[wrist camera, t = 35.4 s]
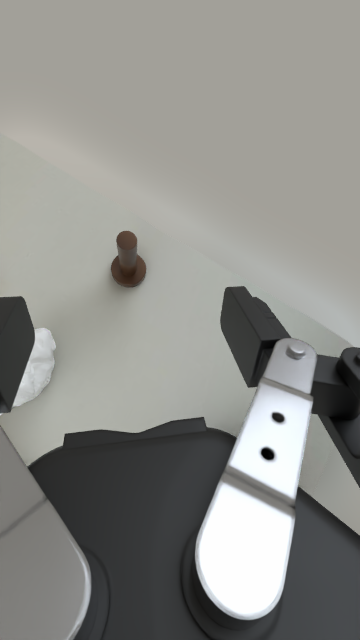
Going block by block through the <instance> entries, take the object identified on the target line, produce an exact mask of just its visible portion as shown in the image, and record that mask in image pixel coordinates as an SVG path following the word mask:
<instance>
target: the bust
mask: <svg viewBox="0 0 360 640" xmlns="http://www.w3.org/2000/svg"><path fill="white" fill-rule="evenodd" d="M34 331H35V343H34V346H33V349H32V352H31V355H30V358H29V361H28V363H27V366H26V369H25V372H24V375H23V378H22V380H21V383H20V386H19V389H18V392H17V395H16V397H15V400H14V403H13V406H12V408H13V407H14V406H20V405H22V404H23V403H25V402H28V401H31V400H33V399H34V398H36V397H37V396H38V395H39V394H40V393H41V392H42V390H43V388H44V387H45V386H46V385H47V384H48V383H49V382H50V379H51V372H52V370H53V369H54V365H55V360H54V354H53V352H54V350H55V348H56V344H55V341H54V340H53V338H52V334H51V332H50V331H49V330H47V329H46V328H38V329H35V330H34ZM0 415H2V413H0Z"/></svg>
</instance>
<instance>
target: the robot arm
mask: <svg viewBox="0 0 360 640" xmlns="http://www.w3.org/2000/svg"><path fill="white" fill-rule="evenodd" d="M220 323H221V329H222V332H223V334H224V336H225V339H226V341H227V343H228V345H229V347H230V349H231V352H232V354H233V356H234V358H235V360H236V363H237V365H238V367H239V369H240V371H241V373H242V376H243V378H244V380H245V382H246V384H247V387H248V388H250V387H257V389H256V392H255V395H254V397H253V400H252V402H251V405H250V407H249V410H248V412H247V415H246V417H245V420H244V422H243V425H242V427H241V430H240V432H239V435H238V437H237V438H236V437H235V436H233V435H231V434H229V433H227V432H224V431H221V430H218V429H214V428H208V427H206V424H205V420H204V417H200V418H191V419H183V420H175V421H170V422H167V423H165V424H162V425H159V426H156V427H154V428H151V429H148V430H146V431H143V432H140V433H128V432H119V431H110V430H93V431H85V432H76V433H68V434H65V437H64V443H63V446H61V447H58V448H56V449H54V450H52V451H50V452H48V453H46V454H44V455H43V456H41V457H40V458H38V459H37V460H36V461H34V462H33V463H31V464H30V465H29V466H28V467H27V466H26V465H25V463H24V462H23V460H22V458H21V457H20V455H19V454H18V452H17V451H16V449H15V447H14V446H13V444H12V443H11V441H10V440H9V438H8V437H7V435H6V433H5V432H4V430H3V429H2V427H1V426H0V640H360V535H358V534H357V533H356V532H354V531H353V530H352V529H351V528H350V527H348V526H347V525H346V524H345V523H343V522H342V521H341V520H339V519H338V518H337V517H336V516H335V515H333V514H332V513H331V512H330V511H328V510H327V509H326V508H325V507H323V506H322V505H321V504H319V503H318V502H317V501H316V500H315V499H313V498H312V497H311V496H310V495H308V494H307V493H306V492H305V491H303V490H302V489H301V488H300V487H298V482H299V477H300V471H301V466H302V460H303V454H304V449H305V443H306V438H307V432H308V427H309V421H310V415H311V413H312V414H318V416H319V418H320V419H321V421H322V423H323V425H324V426H325V428H326V430H327V432H328V433H329V435H330V437H331V439H332V440H333V442H334V444H335V446H336V447H337V449H338V451H339V452H340V454H341V456H342V458H343V460H344V461H345V463H346V465H347V467H348V468H349V470H350V471H351V474H352V475H353V477H354V479H355V480H356V482H357V484H358V486H359V488H360V348H356V347H351V348H346V349H344V350H343V352H342V354H341V356H340V358H337V357H330V356H323V355H318V354H317V353H316V351H315V350H314V349H313V348H312V347H311V346H310V345H309V344H307V343H306V342H303V341H301V340H298V339H294V338H291V336H290V335H289V334H288V332H287V331H286V330H285V328H284V327H283V326H282V324H281V323H280V322H279V320H278V319H276V316H275V315H274V314H273V312H271V310H270V308H269V307H268V306H267V304H266V303H265V302H263V301H262V300H260V299H259V298H257V297H252V296H251V295H250V293H249V292H248V290H247V289H246V288H245V287H244V286H240V287H227V288H226V289H225V292H224V299H223V305H222V311H221V318H220ZM34 343H35V331H34V327H33V324H32V321H31V318H30V315H29V312H28V309H27V305H26V302H25V300H24V298H23V297H21V296H18V297H0V413H8V412H11V409H12V406H13V403H14V400H15V397H16V395H17V392H18V389H19V386H20V383H21V380H22V378H23V375H24V372H25V369H26V366H27V363H28V361H29V358H30V355H31V352H32V349H33V346H34Z"/></svg>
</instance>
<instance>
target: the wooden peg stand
mask: <svg viewBox="0 0 360 640" xmlns="http://www.w3.org/2000/svg"><path fill="white" fill-rule="evenodd" d="M116 241H117V248H118V254H119V255H118V256H117V257H116V258H115V259H114V260H113V262H112V265H111V272H112V276H113V278H114V280H115V281H116V282H117V283H118V284H119V285H121V286H124V287H134V286H137V285H139V284H140V283H141V282H142V281H143V280H144V278H145V274H146V265H145V263H144V261H143V259H142V258H141V257H140V256H139V255H137V238H136V236H135V234H133V233H132V232H130V231H123V232H121V233H119V235H118V236H117V239H116Z"/></svg>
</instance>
